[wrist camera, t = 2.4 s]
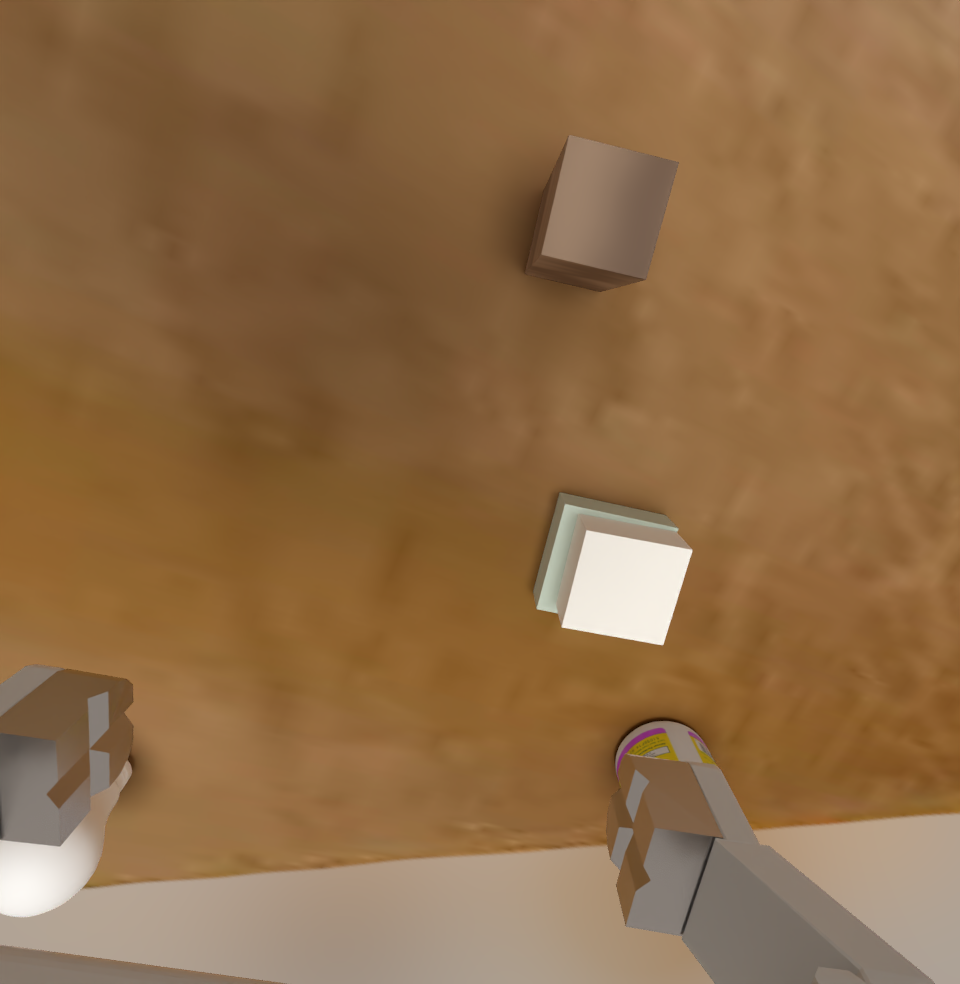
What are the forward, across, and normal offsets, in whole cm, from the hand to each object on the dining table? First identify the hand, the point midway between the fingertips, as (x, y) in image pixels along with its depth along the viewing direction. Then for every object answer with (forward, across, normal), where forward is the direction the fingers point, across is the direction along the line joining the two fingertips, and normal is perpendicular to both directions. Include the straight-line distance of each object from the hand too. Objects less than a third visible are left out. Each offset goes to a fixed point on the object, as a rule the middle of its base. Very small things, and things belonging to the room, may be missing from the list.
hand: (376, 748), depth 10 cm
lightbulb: (+28, +21, +27) cm, 44 cm away
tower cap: (+26, -10, +6) cm, 28 cm away
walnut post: (+28, -5, -12) cm, 31 cm away
